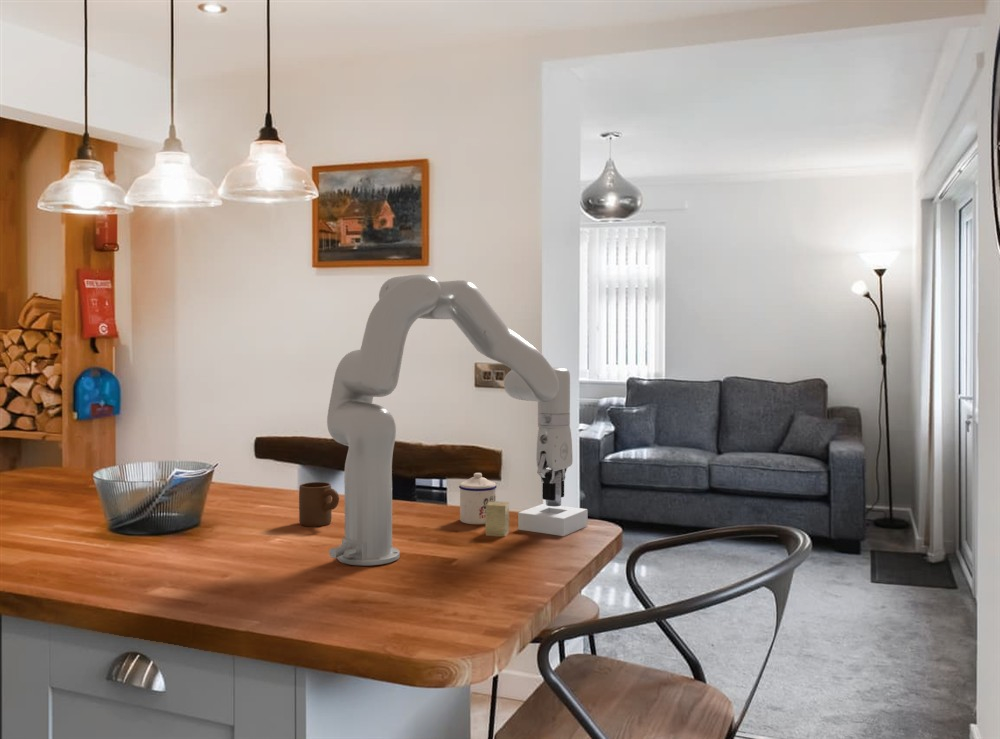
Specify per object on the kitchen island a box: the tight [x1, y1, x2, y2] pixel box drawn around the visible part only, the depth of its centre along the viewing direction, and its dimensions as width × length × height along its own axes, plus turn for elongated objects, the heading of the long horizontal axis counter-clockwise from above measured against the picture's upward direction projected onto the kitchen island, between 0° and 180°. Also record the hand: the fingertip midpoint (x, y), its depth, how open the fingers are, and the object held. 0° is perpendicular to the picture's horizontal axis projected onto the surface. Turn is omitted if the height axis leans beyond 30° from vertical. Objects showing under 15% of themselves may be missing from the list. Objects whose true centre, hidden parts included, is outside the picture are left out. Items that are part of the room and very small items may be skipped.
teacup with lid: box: [458, 472, 497, 526], centre depth 212 cm, size 12×9×12 cm
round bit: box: [545, 470, 562, 506], centre depth 204 cm, size 4×4×8 cm
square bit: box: [485, 501, 510, 538], centre depth 198 cm, size 4×4×7 cm
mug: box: [298, 481, 340, 528], centre depth 206 cm, size 12×8×9 cm, turn 51°
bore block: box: [517, 503, 589, 537], centre depth 204 cm, size 12×12×4 cm
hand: (553, 497), depth 204 cm, fingers closed on round bit, 3 cm apart
